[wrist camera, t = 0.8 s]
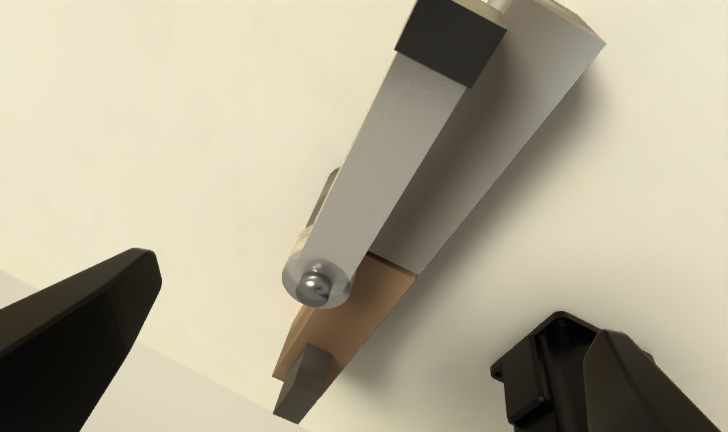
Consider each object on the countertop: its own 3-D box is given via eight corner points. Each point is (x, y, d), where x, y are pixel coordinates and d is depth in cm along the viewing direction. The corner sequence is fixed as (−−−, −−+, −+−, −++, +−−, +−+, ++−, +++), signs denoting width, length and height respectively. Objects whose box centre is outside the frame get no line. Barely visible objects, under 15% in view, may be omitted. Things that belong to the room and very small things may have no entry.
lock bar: (346, 281, 19) (332, 330, 17) (289, 255, 19) (267, 302, 17) (506, 14, 12) (517, 39, 10) (422, -31, 12) (415, -15, 10)
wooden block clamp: (576, 14, 16) (633, 70, 11) (335, 341, 29) (308, 439, 24) (452, -61, 16) (449, -39, 10) (260, 307, 28) (216, 401, 23)
